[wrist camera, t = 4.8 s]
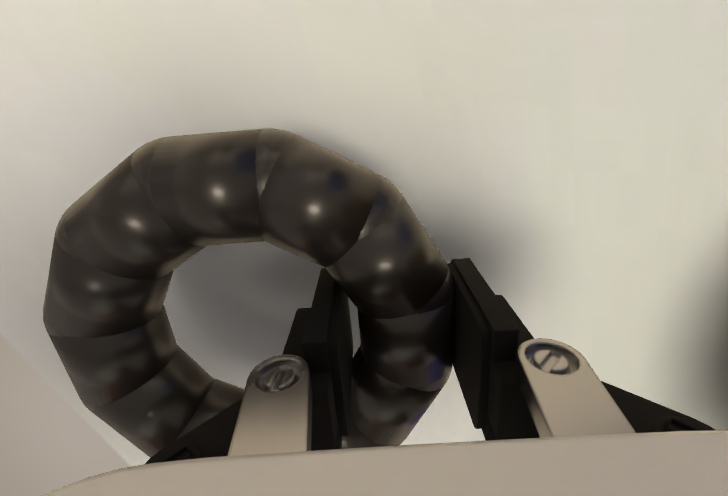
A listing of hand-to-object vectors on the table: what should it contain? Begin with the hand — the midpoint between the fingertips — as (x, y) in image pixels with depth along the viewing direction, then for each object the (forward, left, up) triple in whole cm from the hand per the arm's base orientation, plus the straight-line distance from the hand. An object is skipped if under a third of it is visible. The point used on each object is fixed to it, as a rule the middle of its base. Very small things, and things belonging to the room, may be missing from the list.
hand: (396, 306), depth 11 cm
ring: (-4, 0, +1) cm, 4 cm away
